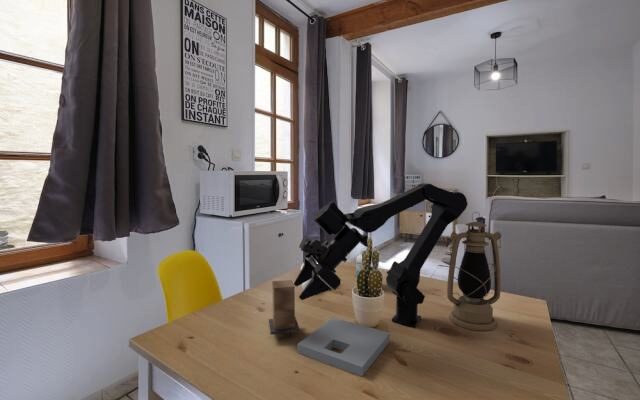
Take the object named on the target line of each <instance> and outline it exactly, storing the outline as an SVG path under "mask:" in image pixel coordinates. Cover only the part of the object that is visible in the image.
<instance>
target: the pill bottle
mask: <svg viewBox="0 0 640 400" xmlns="http://www.w3.org/2000/svg"><path fill="white" fill-rule="evenodd" d="M364 250H365V247H364V248H360V250H359V252H360V254H359V255H357V256H356V263H355V264H356V265H355V267H356V268H355V269H356V271H355V274H356V276H355V278H356V279H357V275H358V273H359V271H360V270H361V269H362V265H361V262H362V252H363V251H364ZM356 279H355V280H356Z"/></svg>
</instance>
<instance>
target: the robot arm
mask: <svg viewBox="0 0 640 400" xmlns="http://www.w3.org/2000/svg"><path fill="white" fill-rule="evenodd" d="M424 201H427V202H429V203H431V204H432V206H431V215H430V217H429V219H428V221H427V222H426V224H425V226H424V228H423V229H422V231H421V233H420V234H419V236H418V237H417V238H416V241H415V242H414V244H413V245H412V247H411V248H410V250H409V252H408V253H407V255H406V256H405V258H404V259H403V260H401V261H400V262H397V261H396V260H394V261H393V262H392V264H391V266H390V268H389V269H388V271H387V272H386V274H387V275H386V278H385V282H386V286H387V287H388V288H389V289H390V290H391V292H392V295H395V297H396V299H395V314H394V316H393V317H392V318H391V322H393V323H398V324H401V325H405V326H409V327H413V328H414V327H416V326H417V325H418V323H419V322H420V321H421V320H422V316H421V315H418V312H419V311H418V310H419V309H418V307H419V305H420V304H421V305H422V304H423V303H424V300H425V298H426V296H425V294H424V293H422V292H421V290H419V289H418V286H419V283H420V282H421V281H420V280H421V269H422V267H423V266H424V265H425V262H426V261H427V259H428V258H429V257H430V255H431V253H432V251H433V250H434V248H435V246H436V245H437V243H438V242H439V240H440V238H441V237H442V236H443V233H444V232H445V230H446V229H447V227H448V226H449V224H452V223H453V222H454V221H456V220H457V219H458V218H460V217H461V215H462V214H463V213H464V212H465V211H466V209H467V207H468V203H469V202H468V199H467V197H466V195H465V194H464V193H462V192H461V191H460V192H459V191H450V190H446V189H445V188H440V187H437V186H435V185H433V184H432V183H423V182H422V183H419V184H417V185H416V186H414V187H412V188H410V189H408V190H406V191H403V192H402V193H399V194H397V195H394V196H393V197H391V198H390V199H387V200H385V201H382V202H380V203H375V204H371V205H366V206H362V207H359V208H357V209H355V210H354V211H353V212H350V213H344V212H343V211H342V210H341V209H340V208H339V207H338V205H337V204H336V203H335V202H334V201H329V202H328V203H327V204H325V205H324V206H323V207H321V208H319V209H318V210H317V212H316V213H315V214H314V215H313V216H312V221H314V222H315V224H317V226H318V227H319V228H321V229H322V231H324V232H325V233H326V235H328V236H331V235H333V238H332V239H331V240H330V241H329V240H328V239H327V240H325V241H324V242H323V243H322V241H321V240H319V239H316V238H311V237H308V236H306V235H303V237H302V239H301V241H300V243H299V246H298V248H300V251H302V252H304V253H303V255H304V256H302V260H303V263H304V265H303V268H302V269H301V270H300V272H299V274H298V275H297V277H296V279H295V280H294V282H293V284H294V286H295V287H298V286H300V285H301V284H303V283H304V282H306V281H308V280H309V279H311V278H312V279H311V281H310V282H309V283H308V285H307V286H306V288H305V289H304V290H303V289H302V292H301V293H300V294H299V296H298V297H299V299H300V300H301V301H304V300H307V299H309V298H312V297H314V296H317V295H319V294H322V293H325V292H328V291H330V292H331V291H333V290H334V291H337V289H338V288H339V287H340V286H341V278H340V277H339V276H338V275H337V274H336V272H337V270H336V268H337V267H338V266H339V265H340V264H341V263H342V262H343V263H346V262H347V260H348V259H347V257H348V255H349V254H350V253H351V252H352V251H353V250H354V249H355V248H356V247H357V246H358V245H359V244H361V245H363V246H364V248H365V247H366V248H368V246H369V245H368V236H367V235H366V234H362V233H360V231H362V232H365V233H368V234H369V233H374V232H376V231H377V230H379V229H380V228H381V227H382V226H384V225H385V224H386V222H388V221H389V220H390V219H391V218H392V217H394V216H396V215H398V214H400V213H402V212H404V211H406V210H408V209H410V208H412V207H414V206H416V205H418V204H421V203H422V202H424ZM348 224H349V225H350V226H353V227H352V228H351V227H350V226H349V225H348ZM358 229H359V230H360V231H359V230H358ZM301 286H302V285H301Z"/></svg>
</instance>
